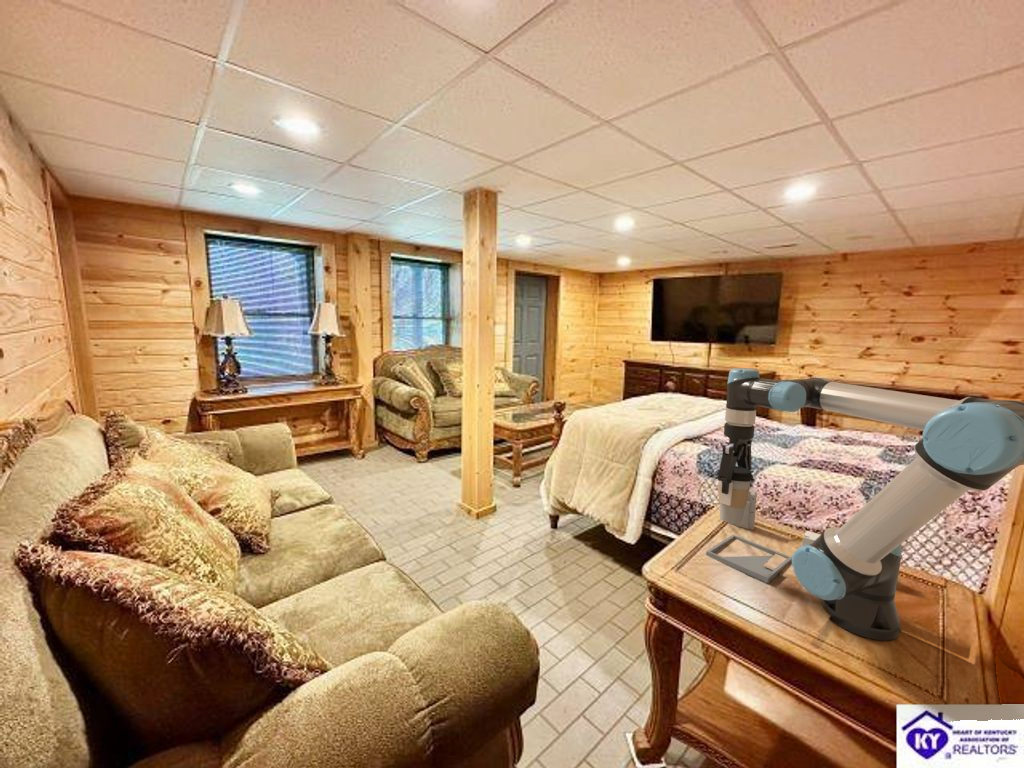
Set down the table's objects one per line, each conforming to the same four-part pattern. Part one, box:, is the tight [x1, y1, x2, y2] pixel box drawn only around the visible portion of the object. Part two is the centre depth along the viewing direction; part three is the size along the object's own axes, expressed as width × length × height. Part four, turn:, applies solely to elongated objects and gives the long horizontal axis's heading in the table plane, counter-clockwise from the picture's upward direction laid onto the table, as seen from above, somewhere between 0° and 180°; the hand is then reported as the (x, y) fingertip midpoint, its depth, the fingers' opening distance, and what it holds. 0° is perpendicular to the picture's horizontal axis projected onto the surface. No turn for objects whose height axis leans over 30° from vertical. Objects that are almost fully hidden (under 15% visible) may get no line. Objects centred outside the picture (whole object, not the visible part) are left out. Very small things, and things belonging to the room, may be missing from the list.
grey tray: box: [705, 534, 792, 585], centre depth 131 cm, size 18×18×2 cm
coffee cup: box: [716, 465, 754, 524], centre depth 124 cm, size 9×9×15 cm
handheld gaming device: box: [726, 489, 758, 531], centre depth 150 cm, size 9×15×4 cm
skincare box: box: [801, 530, 822, 546], centre depth 132 cm, size 6×6×7 cm
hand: (733, 499), depth 124 cm, fingers closed on coffee cup, 9 cm apart
